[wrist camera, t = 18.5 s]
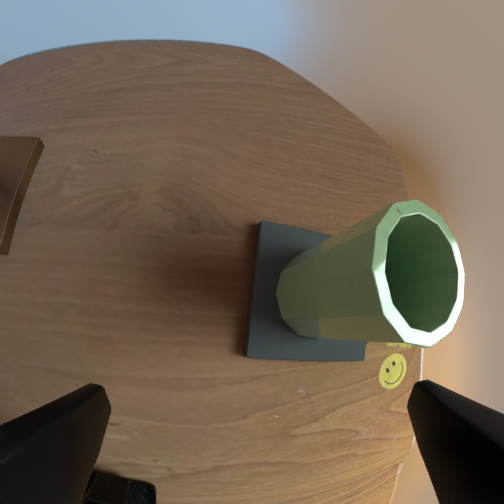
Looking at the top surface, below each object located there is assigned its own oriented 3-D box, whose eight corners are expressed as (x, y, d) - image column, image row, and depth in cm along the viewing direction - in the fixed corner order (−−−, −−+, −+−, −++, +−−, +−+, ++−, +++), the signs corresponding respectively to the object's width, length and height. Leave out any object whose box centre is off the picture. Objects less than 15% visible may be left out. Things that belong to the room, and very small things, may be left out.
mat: (358, 359, 22) (364, 360, 21) (243, 356, 20) (246, 357, 19) (365, 246, 24) (370, 244, 24) (258, 223, 22) (261, 220, 21)
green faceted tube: (289, 350, 20) (393, 371, 9) (266, 262, 21) (352, 208, 10) (360, 322, 22) (472, 315, 11) (340, 245, 23) (442, 195, 12)
